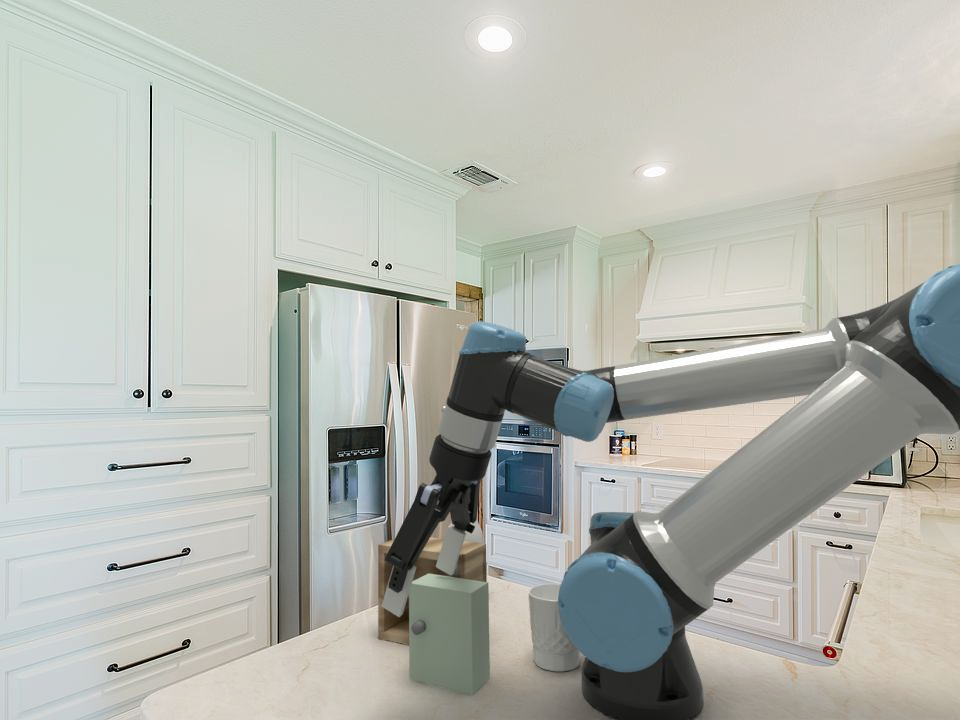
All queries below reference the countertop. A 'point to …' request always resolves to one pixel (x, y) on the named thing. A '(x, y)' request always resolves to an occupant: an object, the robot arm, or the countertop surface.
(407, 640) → the cabinet
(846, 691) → the countertop surface
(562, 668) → the white cup
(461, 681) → the door panel
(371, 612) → the countertop surface
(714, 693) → the countertop surface
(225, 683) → the countertop surface
